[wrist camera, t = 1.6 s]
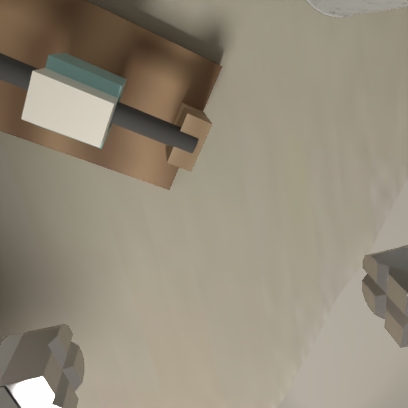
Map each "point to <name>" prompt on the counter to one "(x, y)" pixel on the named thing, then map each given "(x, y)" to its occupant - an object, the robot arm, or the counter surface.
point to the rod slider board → (119, 65)
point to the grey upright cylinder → (354, 6)
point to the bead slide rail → (123, 114)
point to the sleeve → (73, 98)
